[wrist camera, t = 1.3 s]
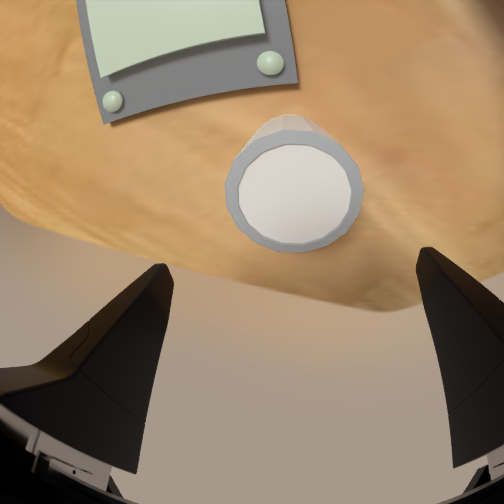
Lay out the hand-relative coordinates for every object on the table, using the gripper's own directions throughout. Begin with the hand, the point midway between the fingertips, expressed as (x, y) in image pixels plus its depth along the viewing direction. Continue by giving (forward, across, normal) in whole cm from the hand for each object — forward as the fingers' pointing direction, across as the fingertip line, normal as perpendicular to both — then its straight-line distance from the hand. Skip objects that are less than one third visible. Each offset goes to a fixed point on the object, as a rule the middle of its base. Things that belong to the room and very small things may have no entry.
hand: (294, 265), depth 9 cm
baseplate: (+12, +6, -14) cm, 19 cm away
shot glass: (+12, 0, 0) cm, 12 cm away
